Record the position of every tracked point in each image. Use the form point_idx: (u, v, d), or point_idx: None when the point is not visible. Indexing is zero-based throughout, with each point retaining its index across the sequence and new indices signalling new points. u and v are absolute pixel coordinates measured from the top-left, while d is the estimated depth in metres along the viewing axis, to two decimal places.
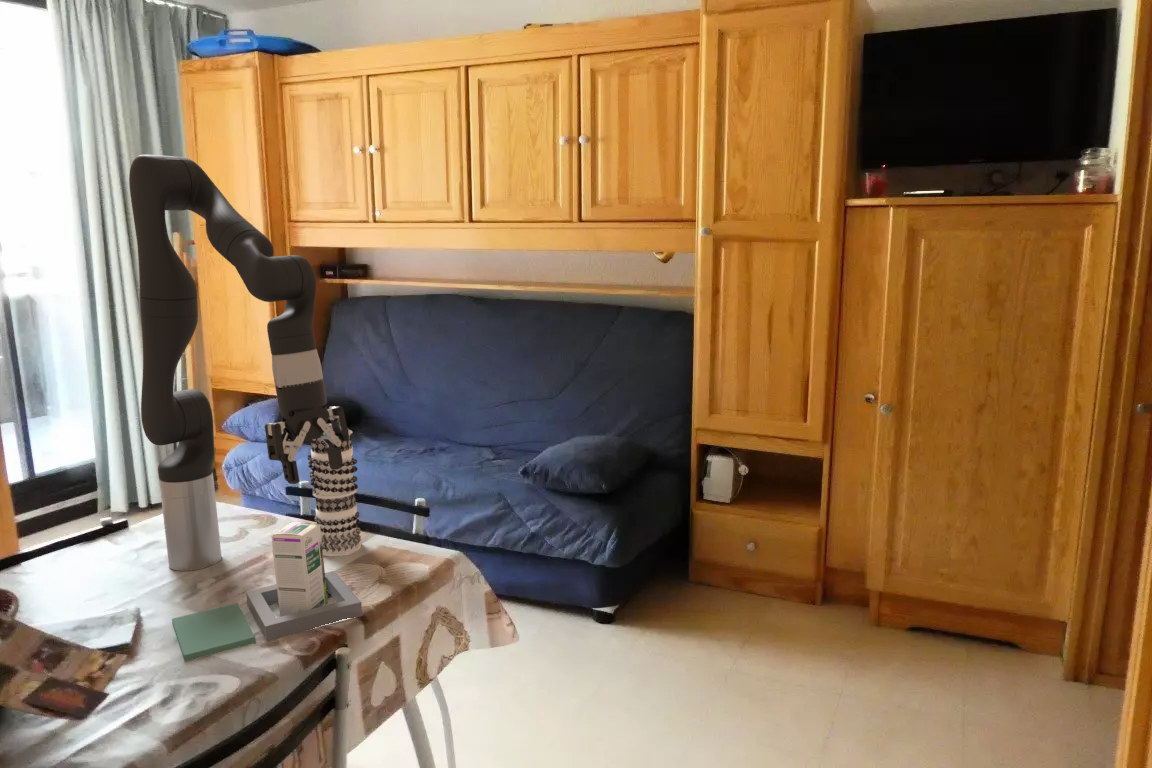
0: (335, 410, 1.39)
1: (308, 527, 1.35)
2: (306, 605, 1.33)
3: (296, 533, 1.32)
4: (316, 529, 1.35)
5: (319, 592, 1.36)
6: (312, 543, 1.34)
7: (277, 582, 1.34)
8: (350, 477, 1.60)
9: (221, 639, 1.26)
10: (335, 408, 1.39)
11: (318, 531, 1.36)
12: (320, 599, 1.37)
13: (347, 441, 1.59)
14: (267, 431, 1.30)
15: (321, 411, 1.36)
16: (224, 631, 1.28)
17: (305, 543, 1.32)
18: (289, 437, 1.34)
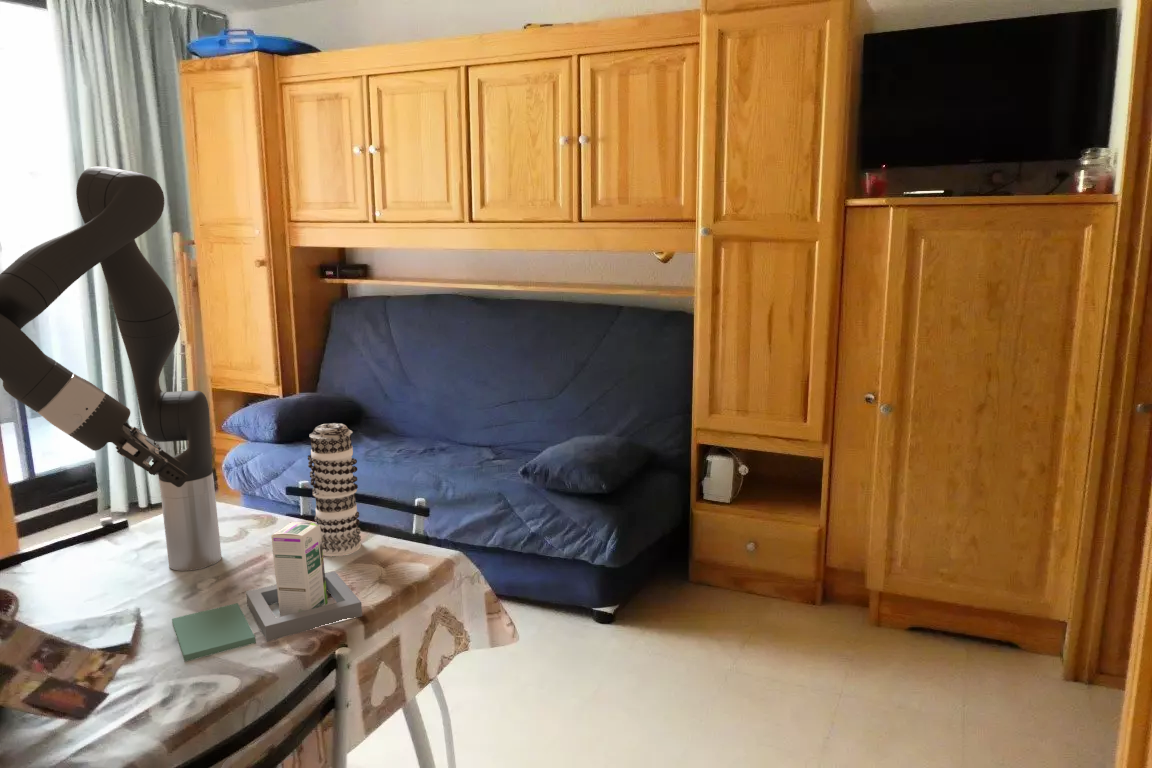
0: None
1: (308, 527, 1.35)
2: (306, 605, 1.33)
3: (296, 533, 1.32)
4: (316, 529, 1.35)
5: (319, 592, 1.36)
6: (312, 543, 1.34)
7: (277, 582, 1.34)
8: (350, 477, 1.60)
9: (221, 639, 1.26)
10: None
11: (318, 531, 1.36)
12: (320, 599, 1.37)
13: (347, 441, 1.59)
14: None
15: None
16: (224, 631, 1.28)
17: (305, 543, 1.32)
18: None
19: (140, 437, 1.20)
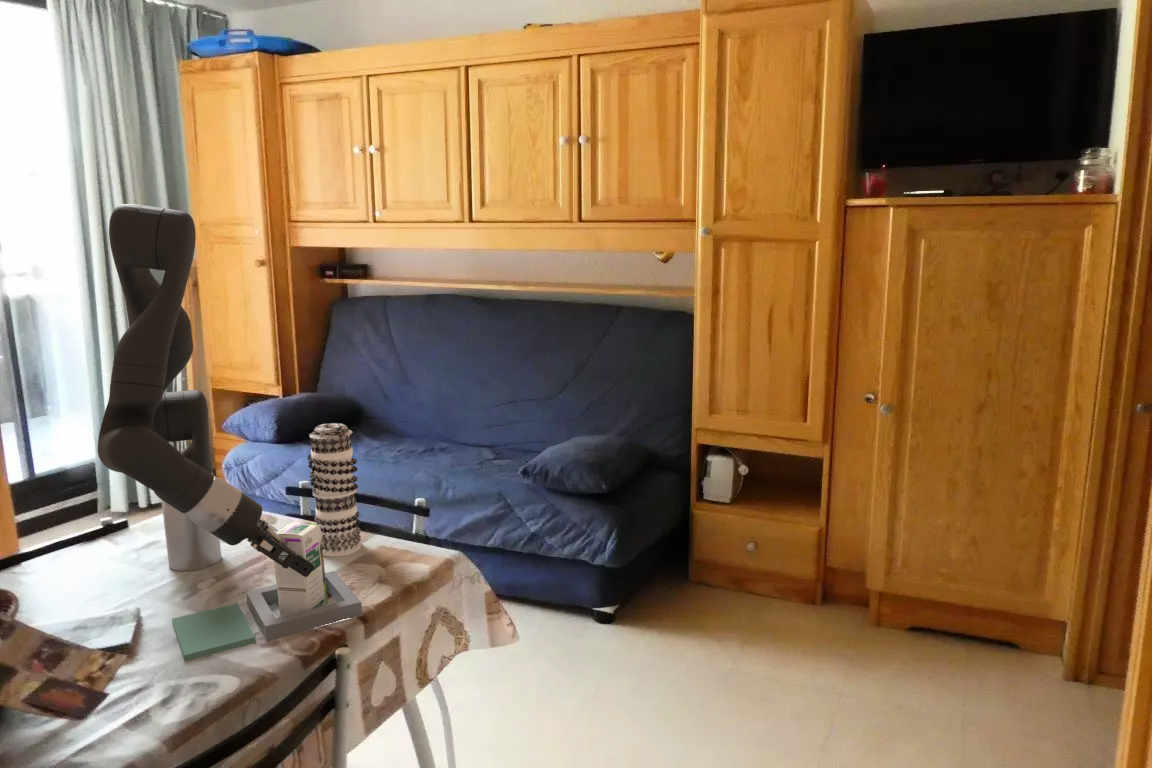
0: None
1: (308, 527, 1.35)
2: (306, 605, 1.33)
3: (296, 533, 1.32)
4: (316, 529, 1.35)
5: (319, 592, 1.36)
6: (312, 543, 1.34)
7: (277, 582, 1.34)
8: (350, 477, 1.60)
9: (221, 639, 1.26)
10: (259, 544, 1.26)
11: (318, 531, 1.36)
12: (320, 599, 1.37)
13: (347, 441, 1.59)
14: None
15: None
16: (224, 631, 1.28)
17: (305, 543, 1.32)
18: None
19: (271, 532, 1.30)
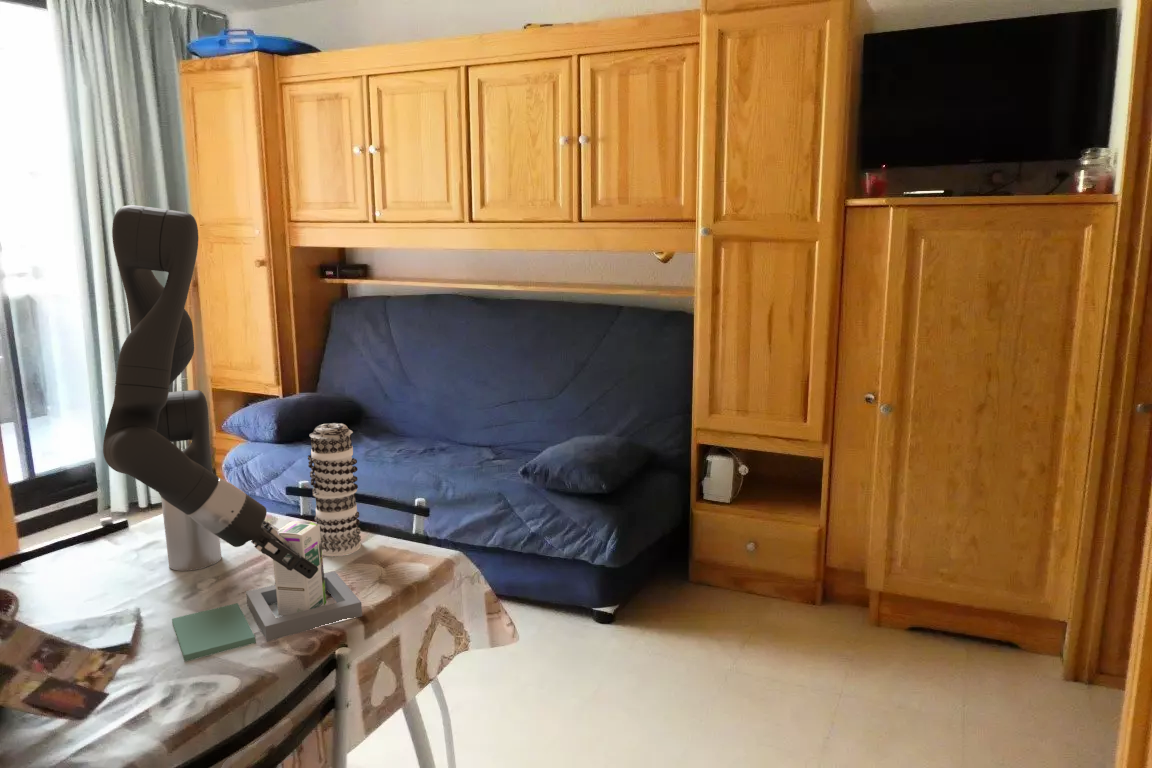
0: None
1: (308, 527, 1.34)
2: (304, 605, 1.33)
3: (295, 533, 1.32)
4: (316, 529, 1.35)
5: (318, 592, 1.36)
6: (311, 542, 1.34)
7: (276, 581, 1.34)
8: (350, 477, 1.60)
9: (221, 639, 1.26)
10: None
11: (317, 530, 1.36)
12: (319, 599, 1.36)
13: (347, 441, 1.59)
14: None
15: None
16: (224, 631, 1.28)
17: (304, 543, 1.32)
18: None
19: (275, 534, 1.30)
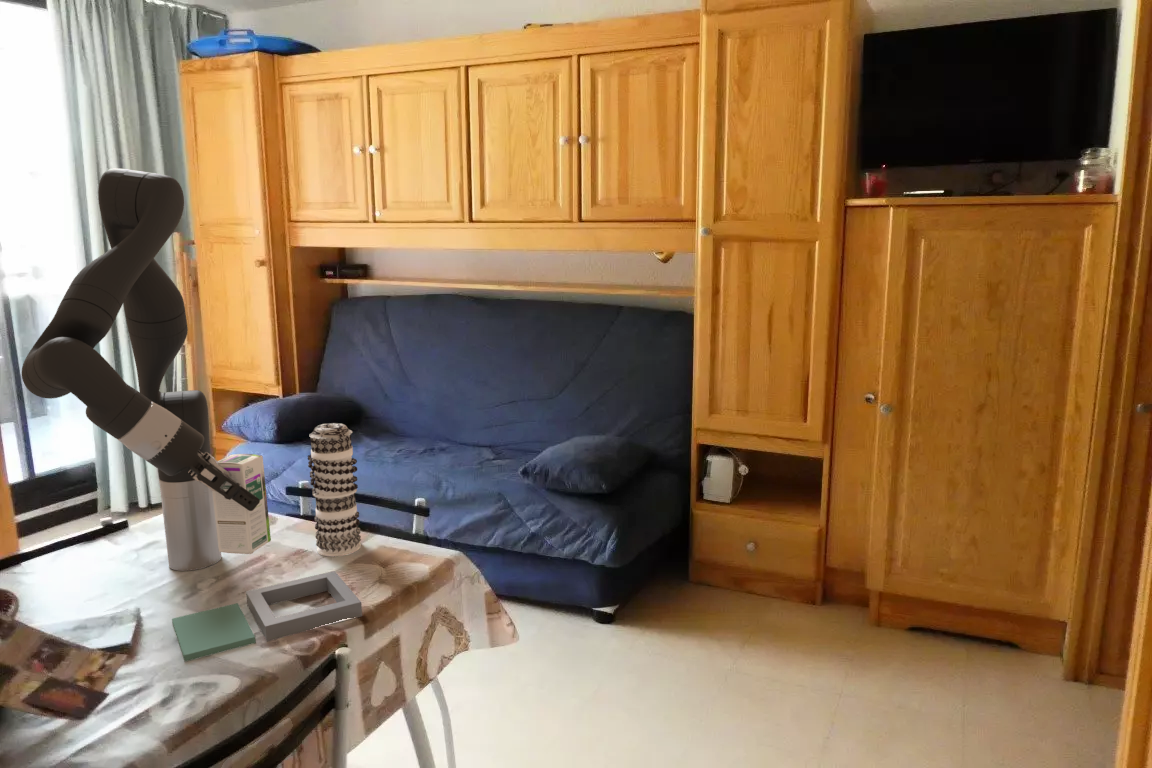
0: None
1: (249, 458, 1.28)
2: (246, 539, 1.27)
3: (235, 462, 1.25)
4: (258, 460, 1.29)
5: (261, 527, 1.29)
6: (253, 473, 1.27)
7: (216, 515, 1.27)
8: (350, 477, 1.60)
9: (221, 639, 1.26)
10: None
11: (260, 462, 1.29)
12: (262, 534, 1.30)
13: (347, 441, 1.59)
14: None
15: None
16: (224, 631, 1.28)
17: (245, 473, 1.25)
18: None
19: (214, 463, 1.24)
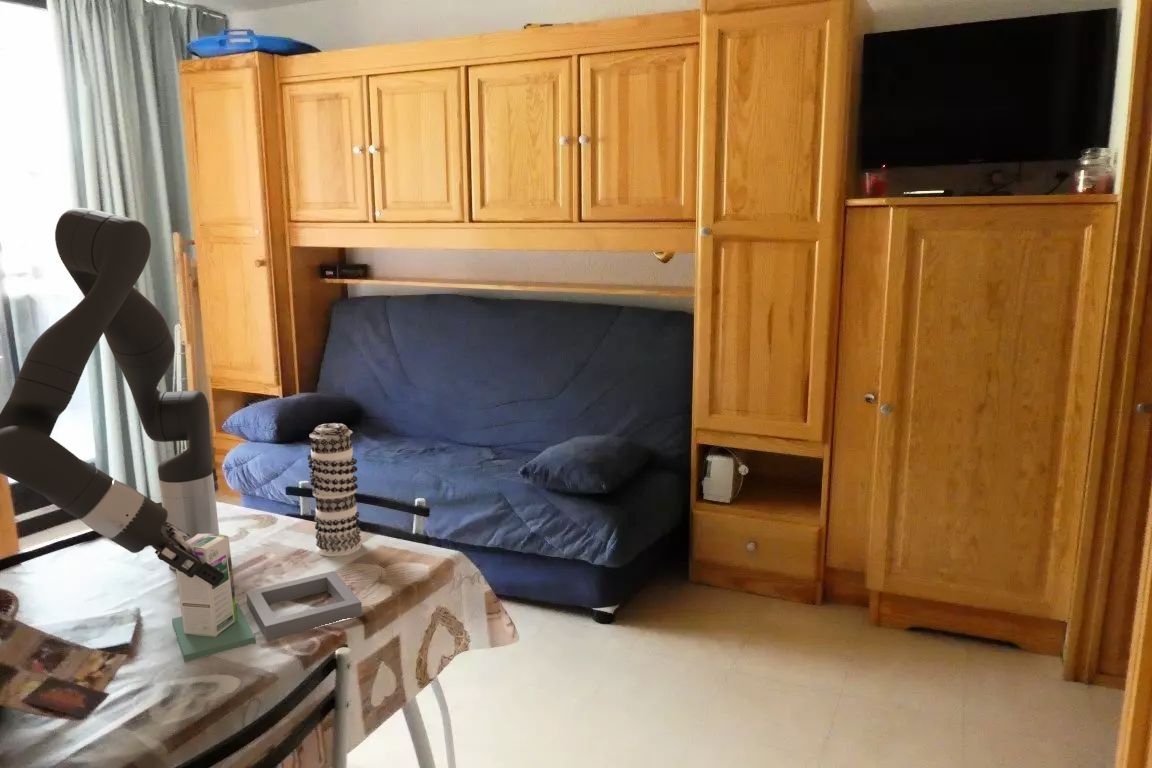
0: None
1: (215, 540, 1.27)
2: (211, 622, 1.26)
3: (199, 546, 1.24)
4: (224, 541, 1.28)
5: (226, 608, 1.29)
6: (218, 556, 1.27)
7: (180, 597, 1.26)
8: (350, 477, 1.60)
9: (221, 639, 1.26)
10: (161, 552, 1.19)
11: (225, 543, 1.28)
12: (228, 615, 1.29)
13: (347, 441, 1.59)
14: None
15: None
16: (224, 631, 1.28)
17: (209, 557, 1.25)
18: None
19: (177, 539, 1.23)
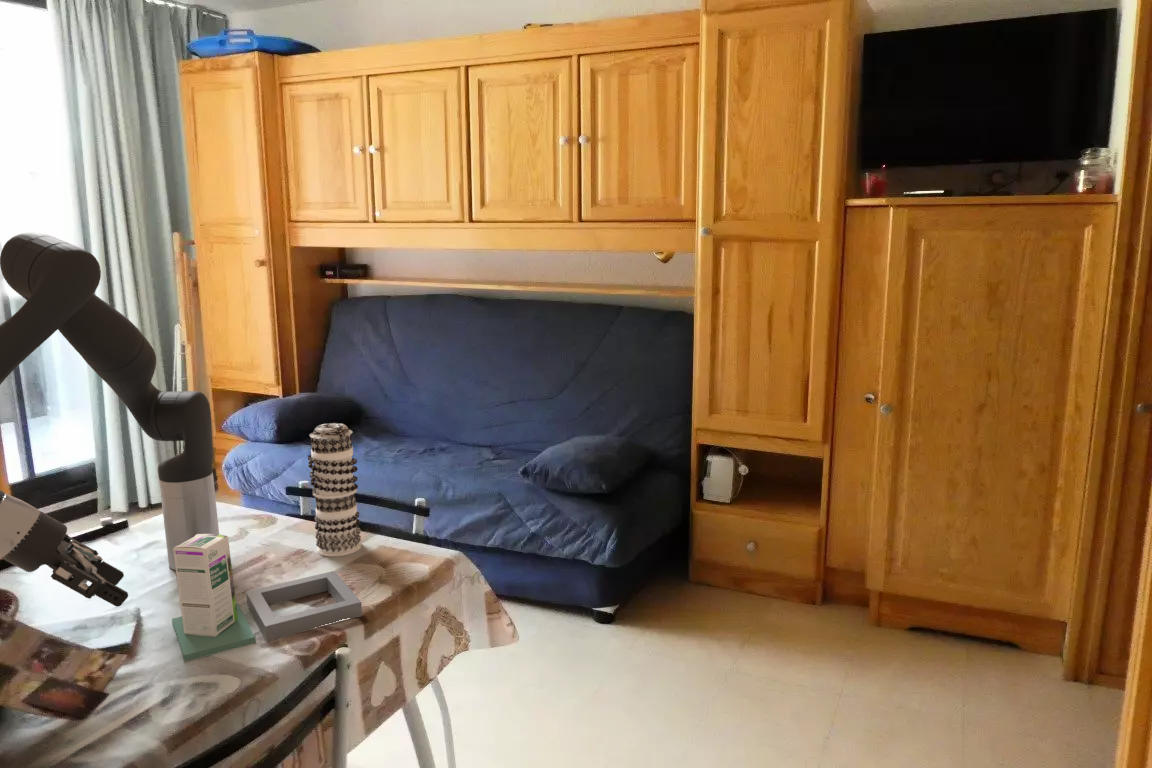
0: None
1: (214, 540, 1.27)
2: (210, 622, 1.26)
3: (199, 546, 1.24)
4: (223, 541, 1.28)
5: (226, 608, 1.29)
6: (218, 556, 1.27)
7: (180, 597, 1.26)
8: (350, 477, 1.60)
9: (221, 639, 1.26)
10: None
11: (225, 543, 1.28)
12: (228, 615, 1.29)
13: (347, 441, 1.59)
14: None
15: None
16: (224, 631, 1.28)
17: (209, 557, 1.25)
18: None
19: (77, 557, 1.16)
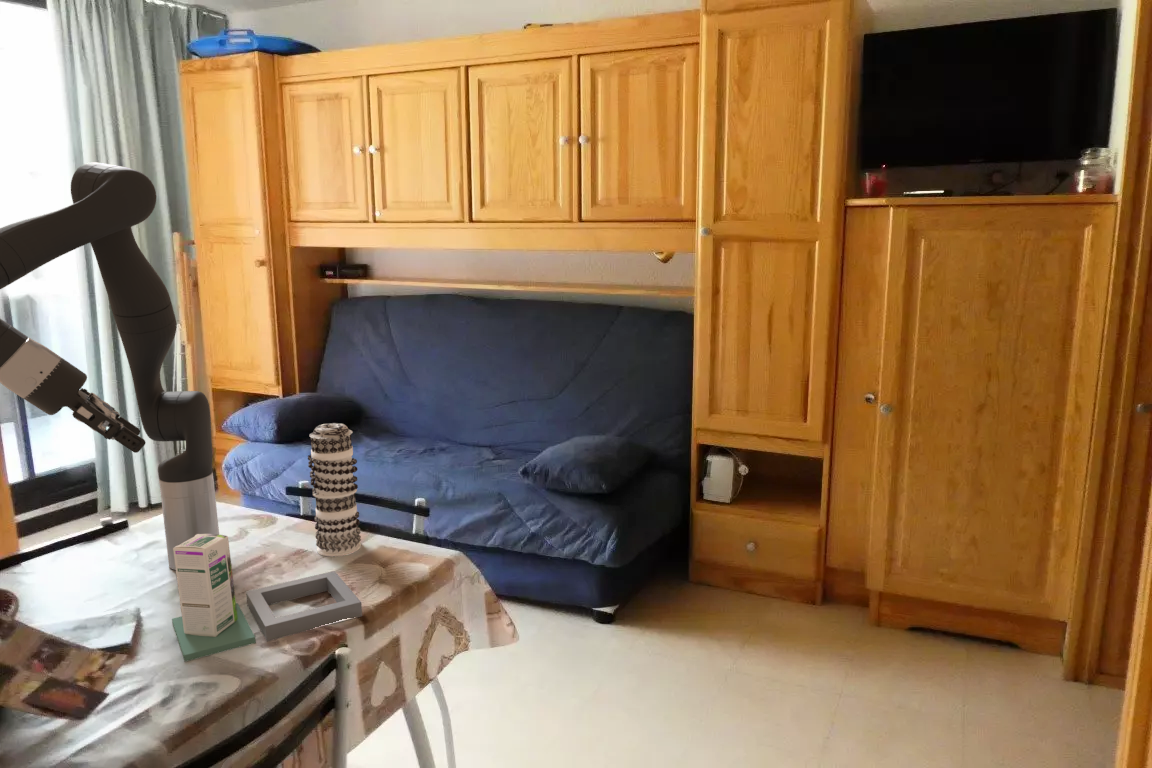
0: None
1: (214, 540, 1.27)
2: (210, 622, 1.26)
3: (198, 546, 1.24)
4: (223, 541, 1.28)
5: (226, 608, 1.29)
6: (218, 556, 1.27)
7: (180, 597, 1.26)
8: (350, 477, 1.60)
9: (221, 639, 1.26)
10: None
11: (225, 543, 1.28)
12: (228, 615, 1.29)
13: (347, 441, 1.59)
14: None
15: None
16: (224, 631, 1.28)
17: (209, 557, 1.25)
18: None
19: (96, 402, 1.21)
